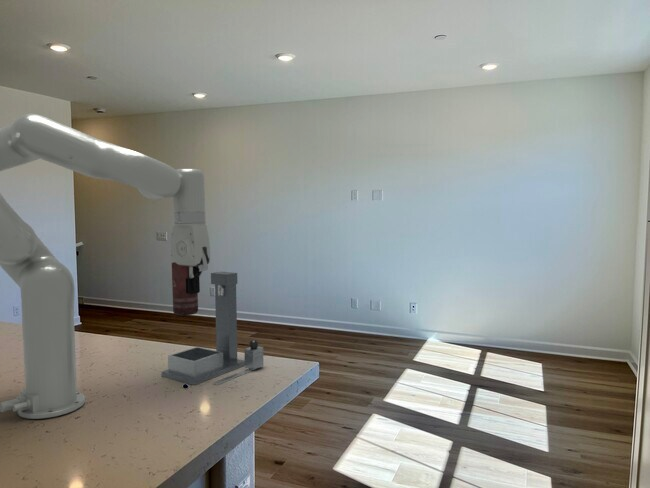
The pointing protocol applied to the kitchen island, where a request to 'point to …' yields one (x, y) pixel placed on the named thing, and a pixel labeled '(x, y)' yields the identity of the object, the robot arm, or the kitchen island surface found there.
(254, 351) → the lever
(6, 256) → the robot arm
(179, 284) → the red can
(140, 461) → the kitchen island surface
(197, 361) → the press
